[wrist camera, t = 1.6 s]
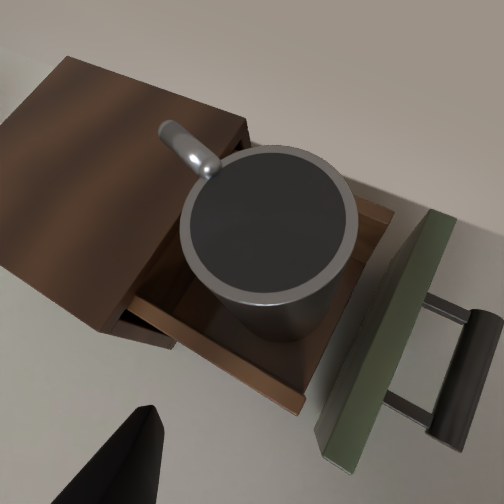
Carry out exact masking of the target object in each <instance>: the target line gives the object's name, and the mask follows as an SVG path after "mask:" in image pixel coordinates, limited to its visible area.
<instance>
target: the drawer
mask: <svg viewBox="0 0 504 504" xmlns="http://www.w3.org/2000/svg"><path fill="white" fill-rule="evenodd" d="M236 152H238V151H237V150H235V149H234V150H233V151H232V153H231V154H233V153H236ZM231 154H230V155H231ZM354 199H355V202H356V205H357V211H358V233H357V239H356V242H355V246H354V249H353V251H352V254H351V256H350V258H349V261H348V263H347V266H346V268H345V270H344V273H343V275H342V277H341V280H340V282H339V285H338V287H337V289H336V292H335V294H334V297H333V299H332V301H331V304H330V306H329V308H328V311H327V313H326V315H325V317H324V319H323V320H322V322H321V323H320V324H319V326H318V327H317V328H316V329H315V330H314V331H312V332H311V333H310V334H308V335H307V336H305V337H303V338H301V339H298V340H295V341H290V342H273V341H268V340H265V339H263V338H260V337H258V336H257V335H255V334H253V333H252V332H251V331H249V330H248V329H247V328H246V327H245V326H244V325H243V324H242V323H241V322H240V321H239V320H238V319H237V318H236V317H235V316H234V315H233V314H232V312H231V311H230V310H229V309H228V308H227V307H226V306H225V305H224V304H223V303H222V302H221V301H220V300H219V299H218V298H217V297H216V296H215V295H214V294H213V293H212V292H211V291H210V290H209V289H208V288H207V287H206V286H205V285H204V284H203V283H202V282H201V281H200V280H199V279H198V277H197V276H196V275H195V274H194V272H193V271H192V270H191V268H190V266H189V264H188V263H187V261H186V258H185V256H184V253H183V250H182V246H181V242H180V229H179V231H178V232H177V234H176V235H175V237H174V238H173V240H172V241H171V242H170V244H169V245H168V247H167V248H166V250H165V251H164V253H163V254H162V256H161V257H160V259H159V260H158V262H157V263H156V265H155V266H154V267H153V269H152V270H151V272H150V273H149V275H148V276H147V278H146V279H145V281H144V282H143V284H142V285H141V287H140V288H139V290H138V291H137V292H136V294H135V295H134V297H133V298H132V300H131V301H130V303H129V304H128V306H127V307H126V309H127V310H129V311H130V312H132V313H133V314H135V315H137V316H138V317H140V318H141V319H143V320H145V321H146V322H148V323H149V324H151V325H153V326H154V327H156V328H157V329H159V330H160V331H162V332H164V333H165V334H167V335H168V336H170V337H172V338H173V339H175V340H176V341H178V342H179V343H181V344H183V345H184V346H186V347H187V348H189V349H191V350H192V351H194V352H195V353H197V354H198V355H200V356H202V357H203V358H205V359H206V360H208V361H210V362H211V363H213V364H214V365H216V366H218V367H219V368H221V369H222V370H224V371H225V372H227V373H229V374H230V375H232V376H233V377H235V378H237V379H238V380H240V381H241V382H243V383H244V384H246V385H248V386H249V387H251V388H252V389H254V390H256V391H257V392H259V393H260V394H262V395H263V396H265V397H267V398H268V399H270V400H271V401H273V402H275V403H276V404H278V405H279V406H281V407H283V408H284V409H286V410H287V411H289V412H290V413H292V414H294V415H295V416H298V415H299V413H300V411H301V409H302V407H303V405H304V403H305V401H306V397H305V394H304V393H305V391H306V389H307V386H308V384H309V382H310V380H311V378H312V376H313V374H314V372H315V370H316V368H317V365H318V363H319V361H320V359H321V357H322V355H323V353H324V351H325V349H326V347H327V345H328V342H329V340H330V338H331V336H332V334H333V332H334V330H335V328H336V326H337V324H338V322H339V319H340V317H341V315H342V313H343V311H344V309H345V307H346V305H347V303H348V301H349V298H350V296H351V294H352V292H353V290H354V288H355V286H356V284H357V282H358V280H359V278H360V275H361V273H362V271H363V269H364V267H365V265H366V263H367V261H368V260H369V258H370V256H371V254H372V253H373V251H374V249H375V248H376V246H377V244H378V242H379V241H380V239H381V237H382V236H383V234H384V232H385V230H386V229H387V227H388V225H389V223H390V221H391V219H392V217H393V215H394V211H392V210H390V209H387V208H384V207H382V206H379V205H377V204H374V203H372V202H369V201H366V200H364V199H361V198H359V197H356V196H354ZM456 221H457V219H456V218H455V217H452V216H449V215H447V214H444V213H441V212H439V211H436V210H433V209H430V210H429V211H428V212H427V214H426V215H425V216H424V218H423V219H422V220H421V221H420V223H419V224H418V225H417V227H416V228H415V229H414V231H413V232H412V233H411V234H410V236H409V237H408V238H407V240H406V241H405V242H404V244H403V245H402V246H401V247H400V249H399V250H398V251H397V253H396V254H395V255H394V257H393V258H392V259H391V261H390V263H389V265H388V267H387V270H386V272H385V274H384V276H383V278H382V281H381V283H380V285H379V287H378V289H377V292H376V294H375V296H374V298H373V300H372V303H371V305H370V307H369V309H368V311H367V314H366V316H365V318H364V320H363V322H362V324H361V327H360V329H359V331H358V333H357V335H356V338H355V340H354V342H353V344H352V346H351V349H350V351H349V353H348V355H347V357H346V360H345V362H344V364H343V366H342V368H341V371H340V373H339V375H338V377H337V379H336V382H335V384H334V386H333V388H332V390H331V393H330V395H329V397H328V399H327V401H326V404H325V406H324V408H323V410H322V412H321V415H320V417H319V419H318V421H317V423H316V426H315V428H314V432H315V435H316V439H317V442H318V445H319V448H320V451H321V454H322V457H323V458H324V459H326V460H327V461H329V462H331V463H332V464H334V465H335V466H337V467H338V468H340V469H341V470H343V471H344V472H346V473H347V474H349V475H353V473H354V471H355V468H356V466H357V464H358V461H359V459H360V456H361V454H362V451H363V449H364V446H365V444H366V441H367V439H368V437H369V434H370V432H371V429H372V427H373V424H374V422H375V419H376V417H377V414H378V412H379V410H380V407H381V405H382V404H384V405H386V406H388V407H389V408H391V409H393V410H395V411H396V412H398V413H400V414H402V415H403V416H405V417H407V418H409V419H411V420H412V421H414V422H416V423H418V424H419V425H421V426H423V427H425V428H426V430H425V433H426V434H427V435H428V436H430V437H432V438H433V439H435V440H437V441H439V442H440V443H442V444H444V445H446V446H448V447H449V448H451V449H453V450H455V451H457V452H459V453H462V451H463V448H464V445H465V442H466V439H467V436H468V433H469V430H470V427H471V423H472V420H473V417H474V414H475V411H476V408H477V405H478V402H479V399H480V396H481V393H482V390H483V387H484V384H485V381H486V377H487V374H488V371H489V368H490V365H491V362H492V359H493V356H494V353H495V350H496V347H497V344H498V341H499V338H500V334H501V331H502V328H503V325H504V320H503V319H502V318H501V317H499V316H498V315H496V314H494V313H491V312H488V311H485V310H480V309H471V310H469V311H468V310H466V309H464V308H462V307H459V306H457V305H455V304H453V303H450V302H448V301H446V300H444V299H441V298H439V297H437V296H435V295H433V294H430V293H428V289H429V287H430V284H431V282H432V279H433V277H434V275H435V272H436V270H437V267H438V265H439V262H440V260H441V257H442V255H443V252H444V250H445V248H446V245H447V243H448V240H449V238H450V235H451V233H452V230H453V228H454V225H455V223H456ZM421 306H422V307H424V308H427V309H429V310H431V311H433V312H435V313H437V314H439V315H442V316H444V317H446V318H448V319H450V320H452V321H455V322H457V323H459V324H461V325H462V324H464V325H463V328H462V331H461V333H460V336H459V339H458V342H457V344H456V347H455V350H454V353H453V356H452V358H451V361H450V364H449V367H448V369H447V372H446V375H445V378H444V380H443V383H442V386H441V389H440V391H439V394H438V397H437V400H436V402H435V405H434V408H433V411H432V413H431V414H430V413H429V412H427V411H425V410H423V409H421V408H420V407H418V406H416V405H414V404H412V403H411V402H409V401H407V400H405V399H403V398H402V397H400V396H398V395H396V394H394V393H393V392H391V391H389V390H388V387H389V385H390V383H391V380H392V378H393V375H394V373H395V370H396V368H397V365H398V363H399V360H400V358H401V356H402V353H403V351H404V348H405V346H406V343H407V341H408V338H409V336H410V333H411V331H412V329H413V326H414V324H415V321H416V319H417V316H418V314H419V311H420V309H421Z"/></svg>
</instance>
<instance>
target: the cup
mask: <svg viewBox="0 0 504 504" xmlns="http://www.w3.org/2000/svg"><path fill="white" fill-rule="evenodd" d="M158 137H159V140H160V141H161V142H162V143H163V144H164V145H165V146H166V147H167V148H168V149H169V150H170V151H171V152H173V153H174V154H175V155H176V156H177V157H178V158H179V159H180V160H181V161H182V162H184V163H185V164H186V165H187V166H188V167H189V168H190V169H191V170H192V171H193V172H194V173H196V174H197V175H198V176H199V177H200V178H199V179H198V181H197V182H196V183H195V184H194V186H193V188H192V189H191V191H190V192H189V194H188V196H187V198H186V200H185V203H184V206H183V209H182V213H181V218H180V242H181V246H182V250H183V253H184V256H185V258H186V261H187V263H188V264H189V266H190V268H191V270H192V271H193V272H194V274H195V275H196V276H197V277H198V279H199V280H200V281H201V282H202V283H203V284H204V285H205V286H206V287H207V288H208V289H209V290H210V291H211V292H212V293H213V294H214V295H215V296H216V297H217V298H218V299H219V300H220V301H221V302H222V303H223V304H224V305H225V306H226V307H227V308H228V309H229V310H230V311H231V312H232V314H233V315H234V316H235V317H236V318H237V319H238V320H239V321H240V322H241V323H242V324H243V325H244V326H245V327H246V328H247V329H248V330H249V331H251V332H252V333H253V334H255V335H257V336H258V337H260V338H263V339H265V340H268V341H273V342H290V341H295V340H298V339H301V338H303V337H305V336H307V335H308V334H310V333H311V332H312V331H314V330H315V329H316V328H317V327H318V326H319V324H320V323H321V322H322V320H323V319H324V317H325V315H326V313H327V311H328V308H329V306H330V304H331V301H332V299H333V297H334V294H335V292H336V289H337V287H338V285H339V282H340V280H341V277H342V275H343V273H344V270H345V268H346V266H347V263H348V261H349V258H350V256H351V254H352V251H353V249H354V246H355V242H356V239H357V233H358V211H357V205H356V202H355V199H354V196H353V193H352V191H351V189H350V187H349V186H348V184H347V182H346V181H345V180H344V178H343V177H342V176H341V174H340V173H339V172H338V171H337V170H336V169H335V168H334V167H332V166H331V165H330V164H329V163H328V162H326V161H325V160H323V159H322V158H320V157H318V156H316V155H314V154H312V153H310V152H308V151H305V150H302V149H299V148H294V147H289V146H281V145H266V146H257V147H252V148H248V149H244V150H241V151H238V152H236V153H233V154H231V155H229V156H227V157H225V158H224V159H222V160H220V159H219V157H218V156H216V155H215V154H214V153H213V152H212V151H210V150H209V149H208V148H207V147H206V146H205V145H203V144H202V143H201V142H200V141H199V140H198V139H196V138H195V137H194V136H193V135H192V134H190V133H189V132H188V131H187V130H186V129H185V128H183V127H182V126H181V125H180V124H179V123H177V122H176V121H173V120H166V121H164V122H162V123H161V124H160V126H159V128H158Z"/></svg>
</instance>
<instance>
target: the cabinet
mask: <svg viewBox="0 0 504 504" xmlns="http://www.w3.org/2000/svg"><path fill="white" fill-rule="evenodd" d="M166 120H173V121H176V122H177V123H179V124H180V125H181V126H182V127H183V128H185V129H186V130H187V131H188V132H189V133H190V134H192V135H193V136H194V137H195V138H196V139H198V140H199V141H200V142H201V143H202V144H203V145H205V146H206V147H207V148H208V149H209V150H210V151H212V152H213V153H214V154H215V155H216V156H218V157H219V159H220V160H222V159H224V158H225V157H227V156H229V155H230V154H231V153H232V151H233V150H234V149H235V150H237V151H241V150H244V149H248V148H252V147H251V142H250V137H249V132H248V126H247V121H246V118H243V117H241V116H238V115H235V114H232V113H229V112H227V111H224V110H221V109H218V108H215V107H212V106H209V105H207V104H203V103H200V102H198V101H195V100H192V99H189V98H187V97H184V96H181V95H178V94H175V93H172V92H169V91H167V90H164V89H161V88H158V87H155V86H152V85H149V84H147V83H144V82H141V81H138V80H135V79H132V78H129V77H127V76H124V75H121V74H118V73H115V72H112V71H109V70H106V69H104V68H101V67H98V66H95V65H92V64H89V63H87V62H84V61H81V60H78V59H75V58H72V57H70V56H66V57H65V58H64V59H63V60H62V62H61V63H60V64H59V65H58V66H57V67H56V68H55V69H54V70H53V71H52V72H51V73H50V74H49V75H48V76H47V77H46V78H45V79H44V80H43V81H42V82H41V83H40V84H39V86H38V87H37V88H36V89H35V90H34V91H33V92H32V93H31V94H30V95H29V96H28V97H27V98H26V99H25V100H24V101H23V102H22V103H21V104H20V105H19V106H18V107H17V109H16V110H15V111H14V112H13V113H12V114H11V115H10V116H9V117H8V118H7V119H6V120H5V121H4V122H3V123H2V124H1V125H0V266H2V267H3V268H5V269H6V270H8V271H9V272H11V273H12V274H14V275H15V276H17V277H18V278H20V279H21V280H22V281H24V282H25V283H27V284H28V285H30V286H31V287H33V288H34V289H36V290H37V291H39V292H40V293H42V294H43V295H44V296H46V297H47V298H49V299H50V300H52V301H53V302H55V303H56V304H58V305H59V306H61V307H62V308H64V309H65V310H66V311H68V312H69V313H71V314H72V315H74V316H75V317H77V318H78V319H80V320H81V321H83V322H84V323H86V324H87V325H88V326H90V327H91V328H93V329H94V330H96V331H97V332H100V333H104V334H109V335H113V336H117V337H121V338H125V339H129V340H133V341H137V342H141V343H146V344H150V345H154V346H158V347H162V348H166V349H170V350H172V348H173V347H174V345H175V343H176V342H177V341H176V340H175V339H173V338H172V337H170V336H168V335H167V334H165V333H164V332H162V331H160V330H159V329H157V328H156V327H154V326H153V325H151V324H149V323H148V322H146V321H145V320H143V319H141V318H140V317H138V316H137V315H135V314H133V313H132V312H130V311H129V310H127V309H126V307H127V306H128V304H129V303H130V301H131V300H132V298H133V297H134V295H135V294H136V292H137V291H138V290H139V288H140V287H141V285H142V284H143V282H144V281H145V279H146V278H147V276H148V275H149V273H150V272H151V270H152V269H153V267H154V266H155V265H156V263H157V262H158V260H159V259H160V257H161V256H162V254H163V253H164V251H165V250H166V248H167V247H168V245H169V244H170V242H171V241H172V240H173V238H174V237H175V235H176V234H177V232H178V231H179V229H180V218H181V213H182V209H183V206H184V203H185V200H186V198H187V196H188V194H189V192H190V191H191V189H192V188H193V186H194V184H195V183H196V182H197V181H198V179H199V178H200V177H199V176H198V175H197V174H196V173H194V172H193V171H192V170H191V169H190V168H189V167H188V166H187V165H186V164H185V163H184V162H182V161H181V160H180V159H179V158H178V157H177V156H176V155H175V154H174V153H173V152H171V151H170V150H169V149H168V148H167V147H166V146H165V145H164V144H163V143H162V142H161V141H160V140H159V137H158V128H159V126H160V124H161V123H162V122H164V121H166Z"/></svg>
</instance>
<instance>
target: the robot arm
mask: <svg viewBox="0 0 504 504" xmlns="http://www.w3.org/2000/svg"><path fill="white" fill-rule="evenodd" d="M163 442H164V427H163V424H162V421H161V419H160V417H159V414H158V412H157V410H156V408H155V406H153V405H147V406H141V407H138V408H137V409H135V410H134V412H133V413H132V414H131V415H130V416H129V417H128V418H127V419H126V420H125V422H124V423H123V424H122V425H121V426H120V427H119V428H118V429H117V430H116V432H115V433H114V434H113V435H112V436H111V437H110V438H109V439H108V440H107V442H106V443H105V444H104V445H103V446H102V447H101V448H100V449H99V450H98V452H97V453H96V454H95V455H94V456H93V457H92V458H91V459H90V460H89V462H88V463H87V464H86V465H85V466H84V467H83V468H82V469H81V471H80V472H79V473H78V474H77V475H76V476H75V477H74V478H73V479H72V481H71V482H70V483H69V484H68V485H67V486H66V487H65V488H64V489H63V491H62V492H61V493H60V494H59V495H58V496H57V497H56V498H55V499H54V501H53V502H52V503H51V504H156V499H157V492H158V484H159V475H160V467H161V459H162V451H163Z"/></svg>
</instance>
